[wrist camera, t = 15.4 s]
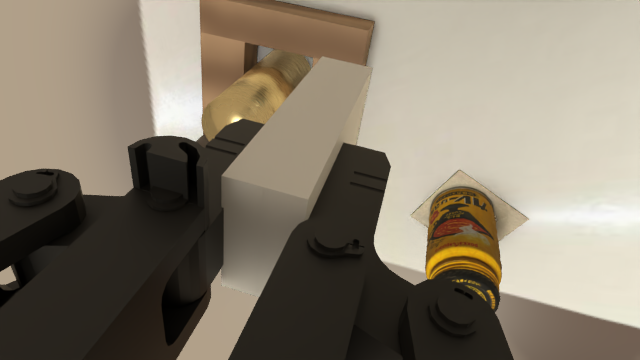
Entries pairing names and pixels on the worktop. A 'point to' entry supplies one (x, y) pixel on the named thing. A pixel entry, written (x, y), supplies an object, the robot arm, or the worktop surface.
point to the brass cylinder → (256, 92)
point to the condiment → (467, 235)
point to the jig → (271, 38)
